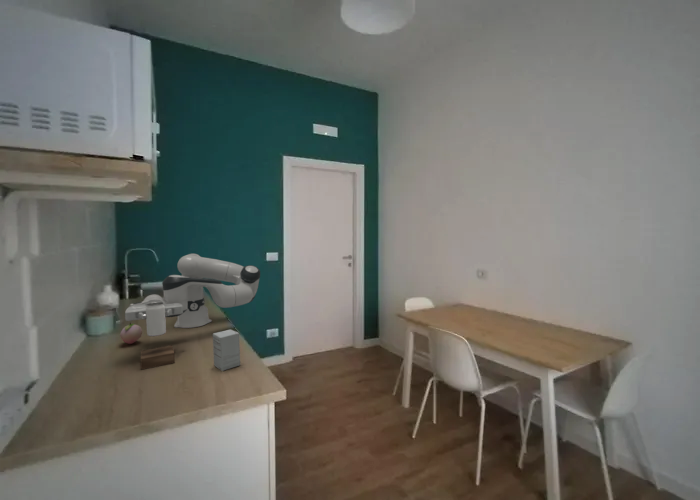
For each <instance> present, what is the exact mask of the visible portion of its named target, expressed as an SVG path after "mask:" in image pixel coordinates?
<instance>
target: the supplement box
mask: <svg viewBox="0 0 700 500" xmlns="http://www.w3.org/2000/svg"><path fill="white" fill-rule="evenodd" d="M212 347H213V351H212V352H213V366H214V367H216V368H217V369H219V370H220V371H222V372H223V371H227V370H229V369H232V368H236V367H238V366H241V351H240V350H241V347H240V333H239V332H238V331H236V330H233V329H227V330H223V331H218V332H213V333H212Z"/></svg>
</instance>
